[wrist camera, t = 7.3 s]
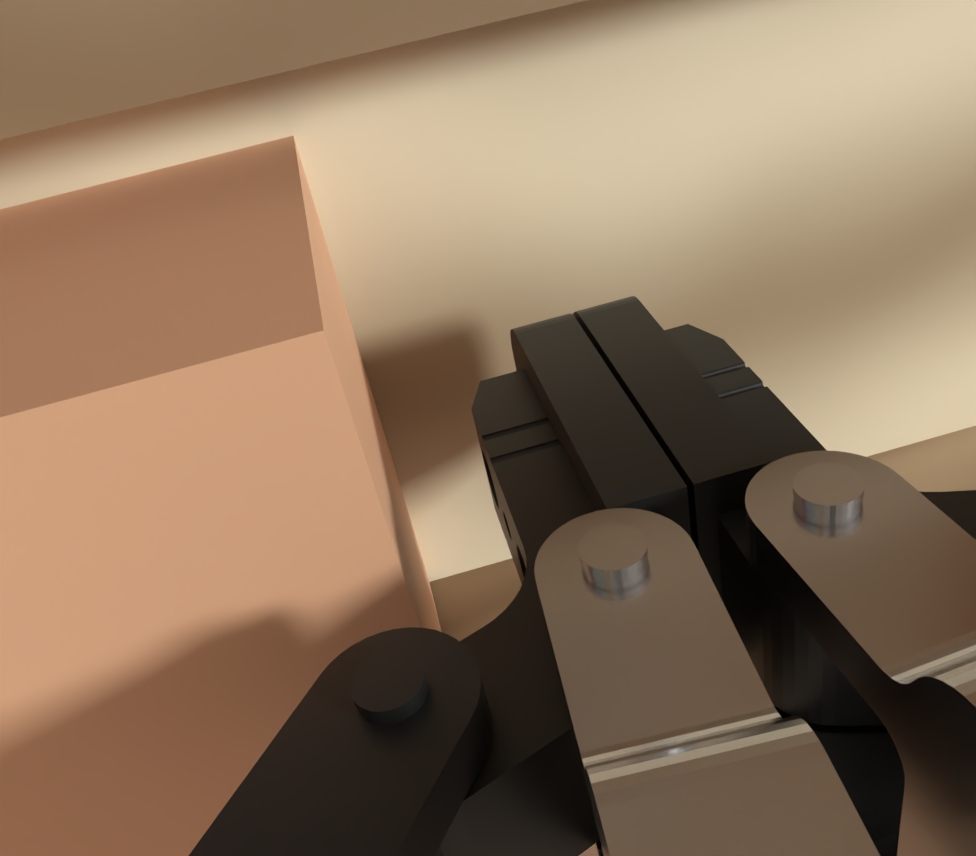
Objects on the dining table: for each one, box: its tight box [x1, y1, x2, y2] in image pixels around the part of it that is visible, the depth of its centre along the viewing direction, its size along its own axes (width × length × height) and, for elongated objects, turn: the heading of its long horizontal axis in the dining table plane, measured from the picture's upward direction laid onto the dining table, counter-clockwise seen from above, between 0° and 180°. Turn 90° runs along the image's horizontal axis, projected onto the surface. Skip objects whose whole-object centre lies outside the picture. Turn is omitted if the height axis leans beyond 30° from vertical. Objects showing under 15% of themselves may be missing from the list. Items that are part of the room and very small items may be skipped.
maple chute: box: [0, 0, 976, 641], centre depth 12 cm, size 12×26×3 cm, turn 101°
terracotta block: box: [0, 136, 441, 856], centre depth 10 cm, size 7×8×5 cm
